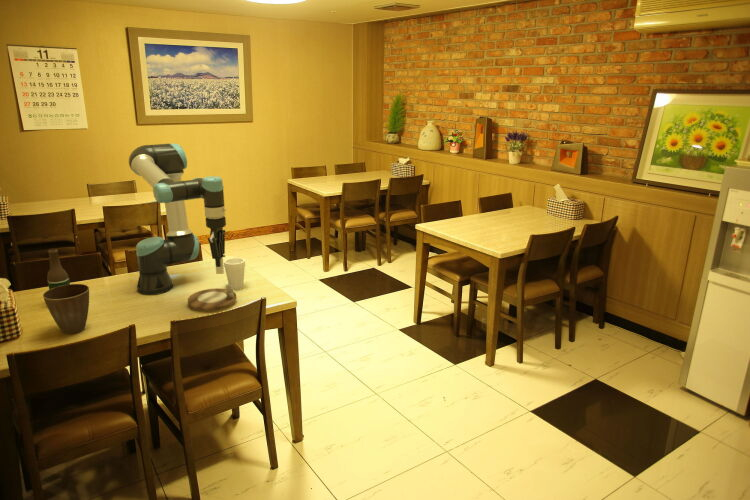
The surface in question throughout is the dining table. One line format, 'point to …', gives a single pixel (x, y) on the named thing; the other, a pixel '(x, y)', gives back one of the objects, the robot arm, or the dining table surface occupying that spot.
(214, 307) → the turntable
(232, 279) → the foam cup
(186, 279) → the dining table surface
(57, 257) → the beer bottle
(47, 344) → the dining table surface
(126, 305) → the dining table surface
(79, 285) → the plant pot
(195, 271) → the dining table surface
